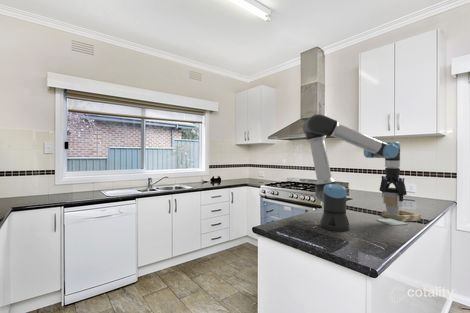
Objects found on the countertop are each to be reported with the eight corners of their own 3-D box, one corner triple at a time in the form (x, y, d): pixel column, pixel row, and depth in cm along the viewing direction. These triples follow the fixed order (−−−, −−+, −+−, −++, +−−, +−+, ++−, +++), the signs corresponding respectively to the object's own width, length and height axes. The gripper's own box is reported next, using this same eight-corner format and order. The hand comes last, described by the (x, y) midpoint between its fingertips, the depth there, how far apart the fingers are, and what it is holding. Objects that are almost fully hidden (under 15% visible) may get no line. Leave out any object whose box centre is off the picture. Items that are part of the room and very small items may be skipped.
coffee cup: (396, 211, 146) (396, 187, 146) (405, 215, 137) (405, 189, 137) (380, 211, 147) (380, 187, 147) (388, 215, 138) (388, 189, 138)
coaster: (392, 225, 136) (392, 224, 136) (376, 220, 146) (376, 219, 146) (407, 224, 138) (407, 223, 138) (391, 219, 149) (391, 218, 149)
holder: (401, 221, 143) (401, 216, 143) (382, 215, 157) (382, 210, 157) (420, 220, 146) (420, 214, 146) (400, 214, 160) (400, 209, 160)
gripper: (415, 168, 132) (414, 208, 132) (382, 166, 153) (382, 201, 154) (403, 168, 130) (403, 209, 130) (372, 166, 152) (372, 201, 152)
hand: (392, 204), depth 142 cm, fingers closed on coffee cup, 9 cm apart
